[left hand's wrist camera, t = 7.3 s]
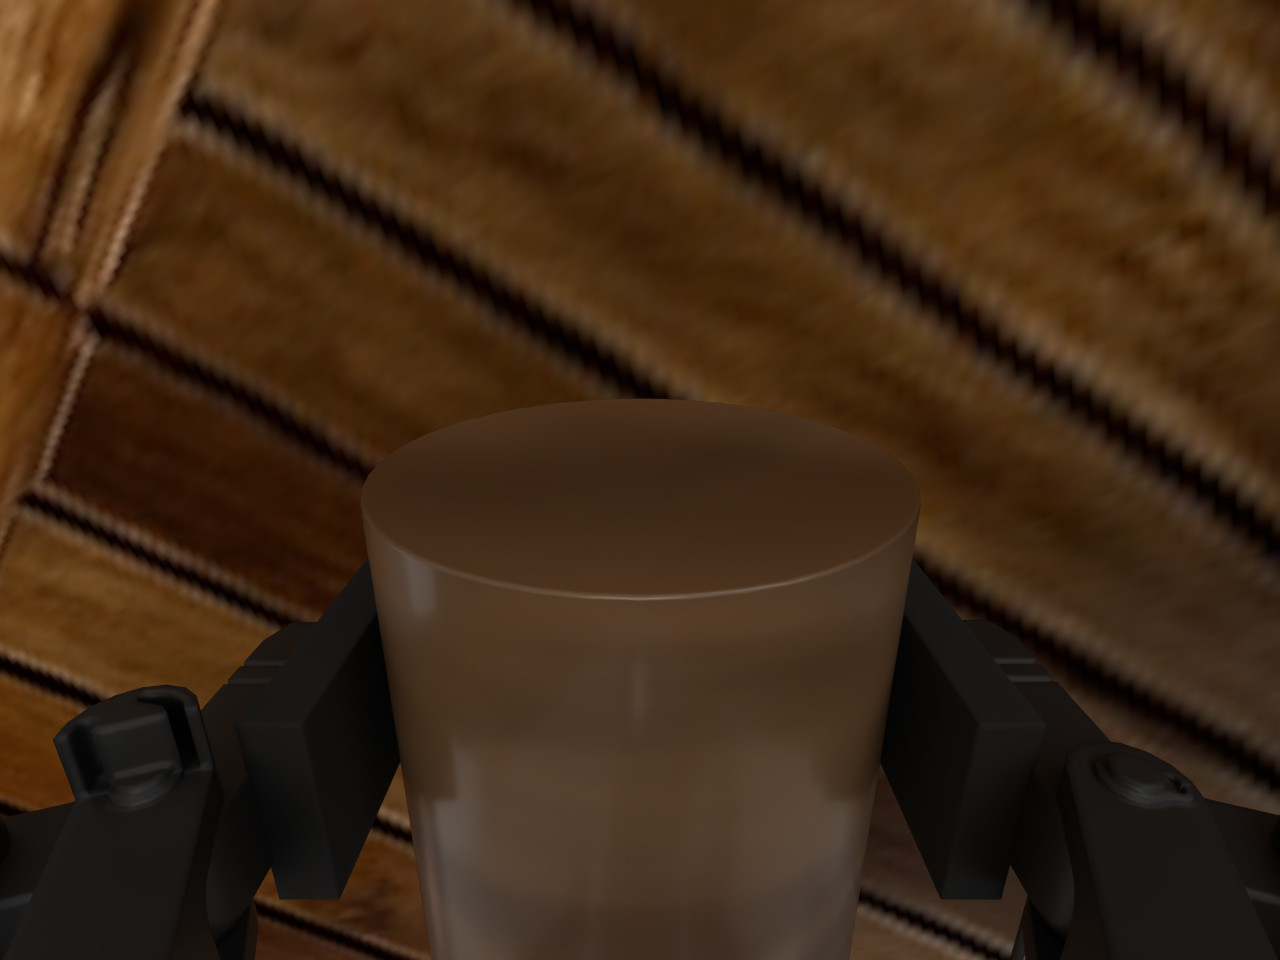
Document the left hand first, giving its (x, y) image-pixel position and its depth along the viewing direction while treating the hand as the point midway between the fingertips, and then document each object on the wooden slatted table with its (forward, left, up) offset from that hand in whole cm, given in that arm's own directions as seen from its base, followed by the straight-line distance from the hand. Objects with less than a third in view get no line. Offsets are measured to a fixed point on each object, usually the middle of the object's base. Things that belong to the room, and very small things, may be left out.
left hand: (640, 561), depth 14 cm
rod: (-4, +7, 0) cm, 8 cm away
